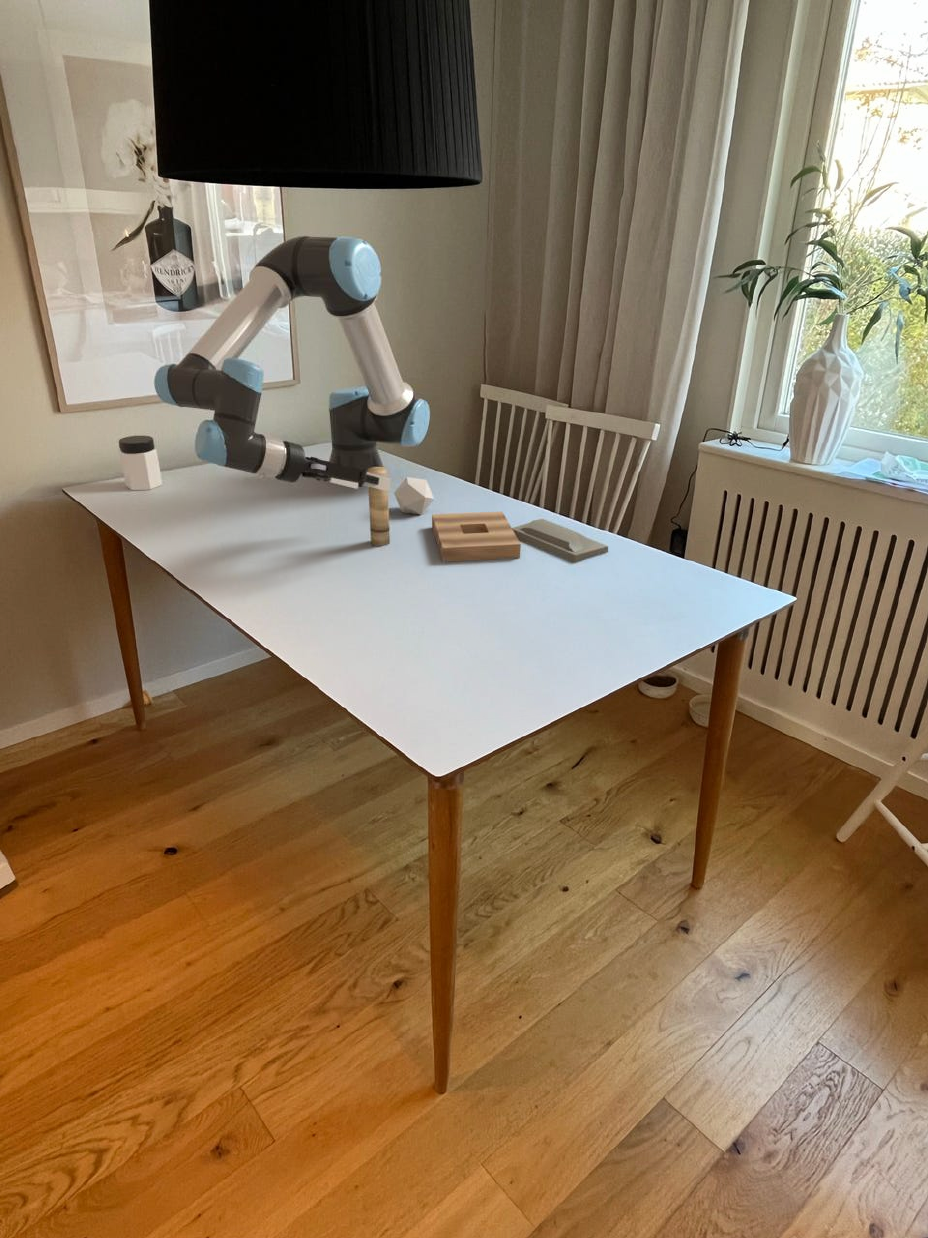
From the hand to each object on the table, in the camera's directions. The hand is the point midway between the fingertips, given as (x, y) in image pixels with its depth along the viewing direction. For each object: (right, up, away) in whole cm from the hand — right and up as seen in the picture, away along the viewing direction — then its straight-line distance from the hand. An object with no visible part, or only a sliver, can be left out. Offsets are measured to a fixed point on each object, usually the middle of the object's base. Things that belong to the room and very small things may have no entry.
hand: (373, 483), depth 166 cm
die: (+7, -3, +22) cm, 23 cm away
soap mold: (+39, -13, +5) cm, 41 cm away
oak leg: (+1, -12, +4) cm, 13 cm away
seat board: (+21, -12, +5) cm, 25 cm away
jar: (-63, +6, +38) cm, 74 cm away
